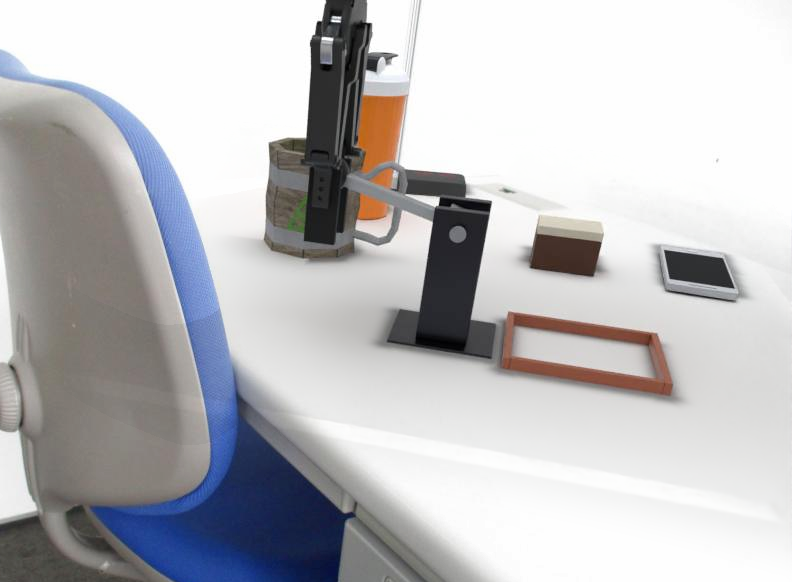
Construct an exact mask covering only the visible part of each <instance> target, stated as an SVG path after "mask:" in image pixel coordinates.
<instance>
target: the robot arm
mask: <svg viewBox="0 0 792 582" xmlns="http://www.w3.org/2000/svg"><path fill="white" fill-rule="evenodd" d="M367 21H368V0H325V3H324V7H323V12H322V19H321V20H317V21H316V24H315V29H314V30H315V31H314V34H313V35H311V39H310V41H309V48H310V75H309V89H308V90H309V92H308V106H307V121H306V122H307V123H306V134H305V135H306V136H305V138H306V149H305V154H304V158H302V159H301V160H300V164H301V166H307V167H310V171H309V183H308V194H307V206H306V218H305V229H304V241H306V242H313V243H320V244H327V245H334V244H335V242H336V232H337V233H343V232H344V228H345V219H346V210H347V200H348V191H349V188H346V187H343V188H342V189H341V184H342V174H343V168H340V166H341V163H342V160H341V158H343V159H344V160H345V161H346V163H347V165H348V167H349V173H350V172H351V163H352V159H347V157H355V158H360V156H361V152H362V149H361V148H354V146H356V144H357V143H358V140H359V136H358V132H359V124H360V116H361V108H362V99H363V91H364V83H365V75H366V67H367V58H368V53H370V48H371V47H370V45H371V41H372V38H373V35H374V34H373V33H374V32H373V22H367Z"/></svg>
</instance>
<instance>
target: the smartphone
mask: <svg viewBox="0 0 792 582" xmlns="http://www.w3.org/2000/svg"><path fill="white" fill-rule="evenodd" d="M658 253H659V254H658V255H659V259H660V264H661V270H662V276H663V283H664V288H665V289H666V291H671V292H678V293H683V294H690V295H697V296H703V297H709V298H715V299H716V298H717V299H723V300H729V301H737V299H738V296H739V290H738V287H737V284H736V282H735V279H734V277H733V275H732V271H731V270H730V267H729V265H728V263H727V262H728V261H727V260H726V257H725V254H722V253H718V252H713V251H705V250H697V249H691V248H683V247H677V246H668V245H660V248H659V251H658Z"/></svg>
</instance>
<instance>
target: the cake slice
mask: <svg viewBox="0 0 792 582" xmlns="http://www.w3.org/2000/svg"><path fill="white" fill-rule="evenodd" d="M604 236H605V231H604V228H603V223H602V222H601V221H594V220H587V219H580V218H579V219H578V218H571V217H564V216H555V215H547V214H538V218H537V223H536V227H535V232H534V238H533V241H532V247H531V251H530V258H529V260H530V262H529V268H531V269H535V270H544V271H552V272H559V273H566V274H574V275H581V276H587V277H588V276H589V277H595V272H596V270H597V264H598V261H599V256H600V252H601V248H602V244H603V239H604Z"/></svg>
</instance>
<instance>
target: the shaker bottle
mask: <svg viewBox="0 0 792 582" xmlns="http://www.w3.org/2000/svg"><path fill="white" fill-rule="evenodd" d="M398 57H399V54H398V53H393V52H386V51H372V52H368V58H367V67H366V75H365V83H364V91H363V99H362V108H361V116H360V124H359V132H358V136H359V140H358V143H357V144H356V145H358V146H359V147H361V148H362V149H364V150H365V151H366V155H365V159H364V164H363V168H362V173H368V172H369V171H371V170H372V169H373V168H375V167H376V166H377V165H378V164H380V163H384V162H388V161H393V162H395V163H396V160H397V154H398V149H399V142H400V136H401V132H402V131H401V130H402V123H403V119H404V112H405V107H406V101H407V97H408V96H409V91H410V84H411V79H410V77H409V75H408V73H407V72H406V71H405V70H404V69H403V68H401V67H399V66H397V65H395V64H392V63H393V62H392V61H393V59H394V58H398ZM393 172H395V170H393V169H392V168H389V169H387V170H384V171H382V172H381V173H380V174H379V175H377V176H376V177H375V178H374V179H372V180H370V181H371V182H373V183H376V184H378V185H381V186H383V187H386V188H388V189H391V184H392V178H393ZM391 190H392V189H391ZM388 207H389V204H386V203H384V202H381V201H379V200H376V199H374V198H371V197H369V196H366V195H364V194H361V193H360V209H359V213H358V218H357V220H377V219H381V218H384V217H385V216H386V215H387V212H388Z"/></svg>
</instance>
